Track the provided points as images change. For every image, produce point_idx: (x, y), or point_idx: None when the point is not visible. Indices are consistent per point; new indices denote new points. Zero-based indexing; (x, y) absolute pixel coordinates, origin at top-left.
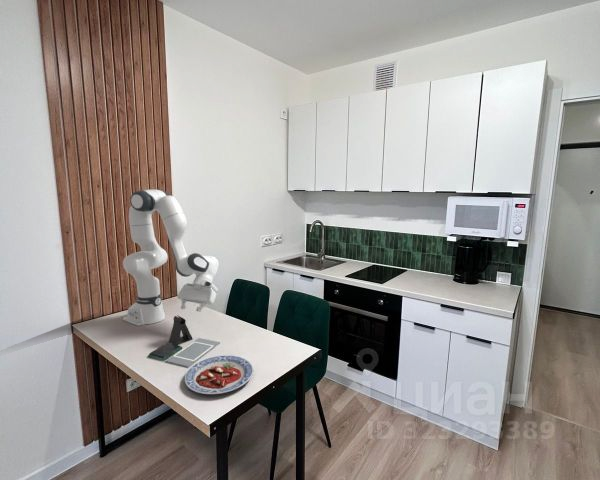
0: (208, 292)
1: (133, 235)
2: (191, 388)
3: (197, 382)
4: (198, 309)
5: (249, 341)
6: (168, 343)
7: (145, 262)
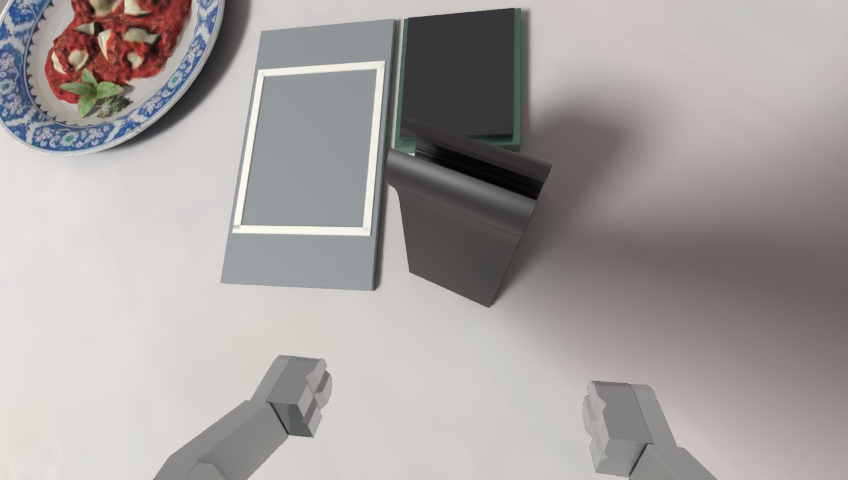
0: None
1: None
2: None
3: None
4: (278, 364)
5: (81, 359)
6: (494, 132)
7: None
